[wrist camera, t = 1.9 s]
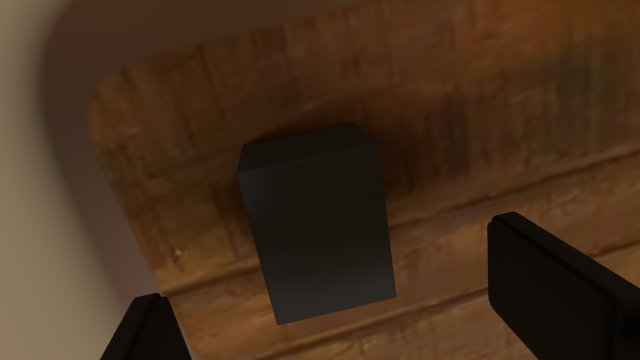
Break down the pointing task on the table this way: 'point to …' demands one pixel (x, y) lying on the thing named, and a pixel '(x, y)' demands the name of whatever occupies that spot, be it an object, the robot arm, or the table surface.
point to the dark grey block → (318, 221)
